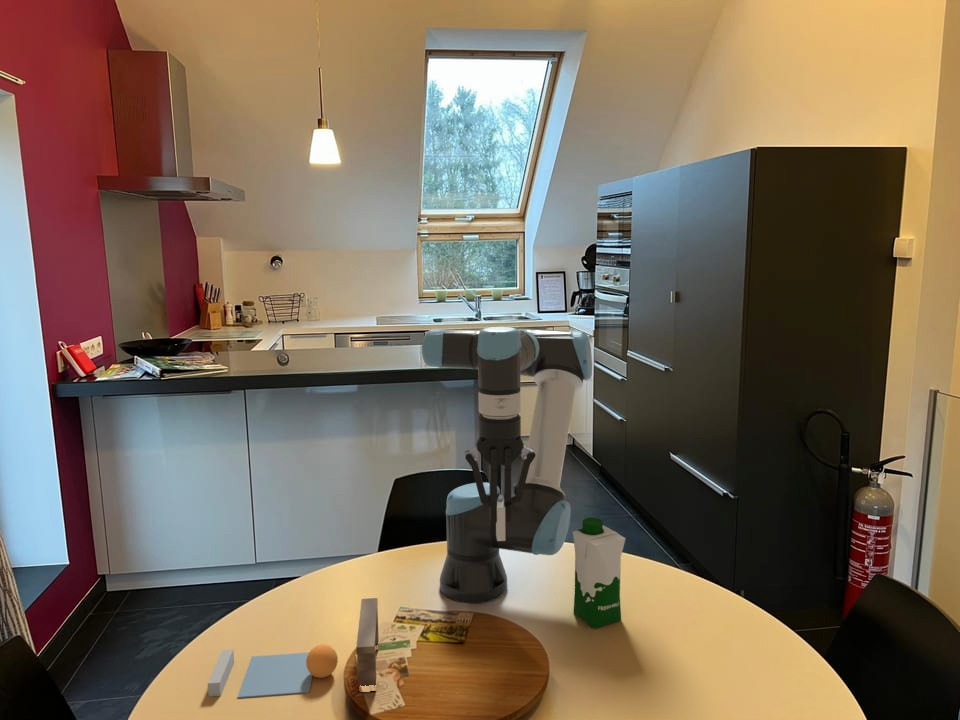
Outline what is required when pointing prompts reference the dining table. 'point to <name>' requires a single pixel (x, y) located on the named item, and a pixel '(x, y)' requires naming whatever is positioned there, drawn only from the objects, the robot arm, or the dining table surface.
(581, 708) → the dining table surface
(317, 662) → the ball
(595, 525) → the milk carton
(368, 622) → the bridge
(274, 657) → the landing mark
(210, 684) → the rail
